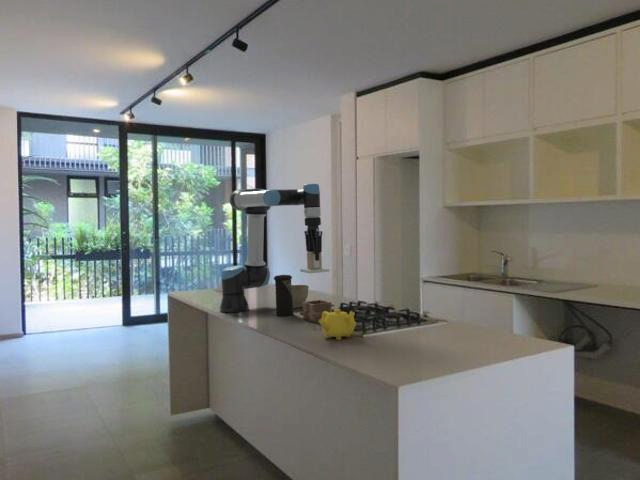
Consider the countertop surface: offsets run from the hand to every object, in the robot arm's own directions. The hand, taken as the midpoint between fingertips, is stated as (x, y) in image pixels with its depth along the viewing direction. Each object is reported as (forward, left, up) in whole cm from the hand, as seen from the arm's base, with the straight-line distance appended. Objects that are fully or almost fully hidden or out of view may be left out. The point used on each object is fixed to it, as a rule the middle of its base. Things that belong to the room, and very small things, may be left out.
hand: (314, 267), depth 249 cm
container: (-21, -7, -25) cm, 33 cm away
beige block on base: (0, 0, -2) cm, 2 cm away
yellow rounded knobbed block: (+37, -11, -25) cm, 46 cm away
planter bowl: (-38, +7, -25) cm, 46 cm away
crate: (0, 0, -25) cm, 25 cm away
